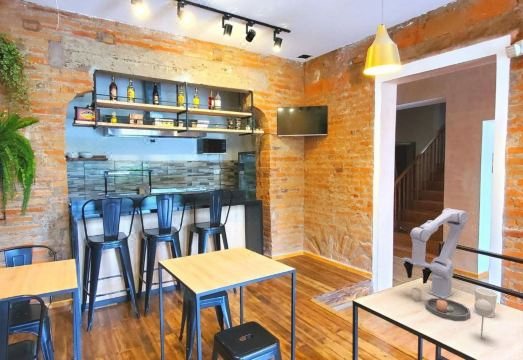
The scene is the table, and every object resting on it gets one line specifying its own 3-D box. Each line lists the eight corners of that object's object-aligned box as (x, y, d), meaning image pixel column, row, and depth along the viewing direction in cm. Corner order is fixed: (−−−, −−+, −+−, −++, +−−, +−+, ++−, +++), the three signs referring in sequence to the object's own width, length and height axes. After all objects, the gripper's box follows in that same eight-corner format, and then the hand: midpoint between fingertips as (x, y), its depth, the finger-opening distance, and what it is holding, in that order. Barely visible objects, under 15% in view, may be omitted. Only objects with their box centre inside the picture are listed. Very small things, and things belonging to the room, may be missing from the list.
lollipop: (491, 344, 117) (494, 305, 116) (472, 339, 120) (475, 301, 119) (490, 336, 122) (492, 299, 121) (471, 331, 125) (474, 295, 124)
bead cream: (414, 297, 156) (415, 287, 156) (422, 300, 153) (422, 290, 152) (409, 298, 154) (410, 288, 153) (417, 302, 151) (418, 291, 150)
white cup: (496, 313, 141) (498, 292, 140) (494, 320, 135) (495, 297, 134) (475, 307, 146) (477, 286, 145) (472, 313, 140) (473, 291, 139)
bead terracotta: (439, 309, 142) (439, 298, 142) (448, 313, 139) (449, 302, 138) (434, 311, 140) (435, 301, 139) (443, 315, 137) (444, 304, 136)
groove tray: (437, 299, 154) (438, 295, 154) (476, 313, 140) (477, 309, 140) (418, 307, 145) (418, 303, 144) (458, 324, 130) (458, 320, 130)
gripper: (400, 250, 155) (398, 276, 156) (429, 258, 143) (427, 287, 144) (408, 248, 159) (406, 274, 160) (437, 255, 147) (435, 284, 148)
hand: (417, 280), depth 153 cm, fingers open, 7 cm apart
